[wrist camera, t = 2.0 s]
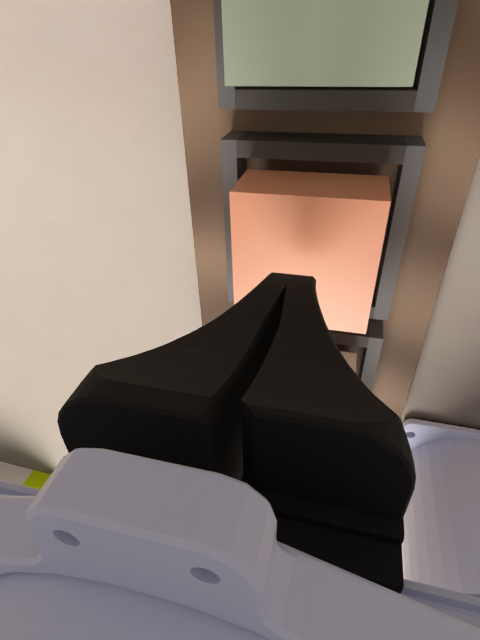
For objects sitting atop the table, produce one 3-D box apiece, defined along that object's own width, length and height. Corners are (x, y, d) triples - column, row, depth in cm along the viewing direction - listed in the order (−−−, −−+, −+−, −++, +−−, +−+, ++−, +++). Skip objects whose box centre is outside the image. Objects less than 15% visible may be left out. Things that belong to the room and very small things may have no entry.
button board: (395, 412, 25) (397, 454, 22) (216, 383, 27) (201, 418, 25) (578, -237, 11) (637, -308, 8) (170, -178, 13) (125, -221, 11)
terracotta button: (366, 298, 17) (365, 334, 15) (249, 285, 18) (234, 317, 16) (388, 175, 14) (390, 201, 12) (247, 169, 15) (229, 191, 14)
